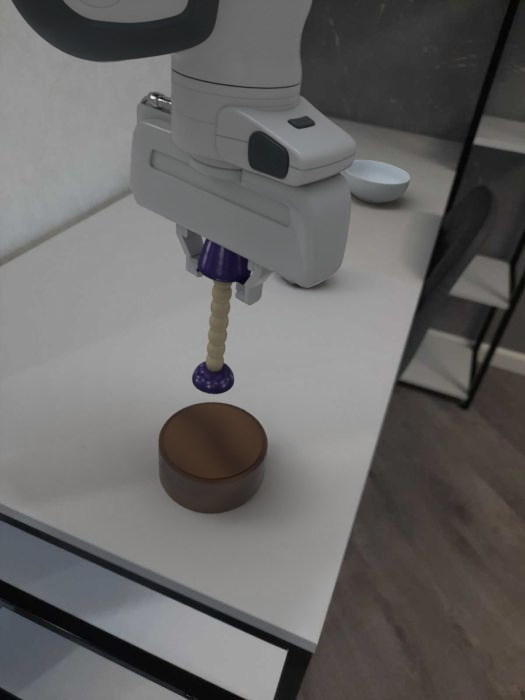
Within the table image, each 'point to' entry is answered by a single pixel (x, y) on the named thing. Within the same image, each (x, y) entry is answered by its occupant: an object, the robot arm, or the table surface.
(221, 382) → the toy lamp
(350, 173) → the cereal bowl
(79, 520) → the table surface
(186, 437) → the wooden drum
